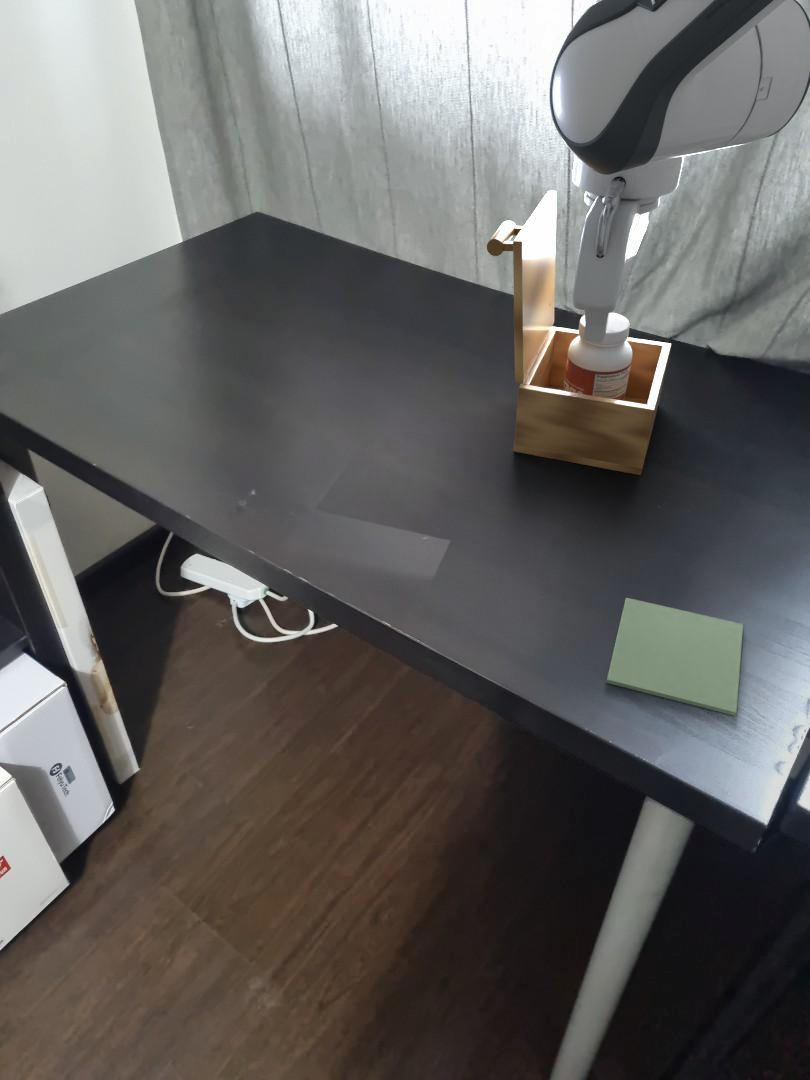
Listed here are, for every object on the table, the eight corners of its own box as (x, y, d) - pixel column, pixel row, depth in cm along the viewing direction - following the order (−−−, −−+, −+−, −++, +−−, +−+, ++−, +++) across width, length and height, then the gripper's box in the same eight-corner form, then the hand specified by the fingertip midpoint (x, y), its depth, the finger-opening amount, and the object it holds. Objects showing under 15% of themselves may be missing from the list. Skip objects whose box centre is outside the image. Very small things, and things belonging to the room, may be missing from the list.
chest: (658, 405, 89) (671, 343, 84) (640, 475, 80) (654, 410, 75) (543, 386, 93) (550, 325, 88) (513, 451, 83) (518, 387, 78)
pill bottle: (551, 408, 88) (563, 310, 80) (607, 402, 88) (623, 304, 81) (570, 440, 83) (584, 339, 76) (628, 433, 84) (648, 332, 76)
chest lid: (556, 190, 79) (511, 190, 81) (522, 241, 69) (471, 240, 71) (554, 322, 87) (513, 319, 89) (523, 383, 78) (478, 380, 79)
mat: (742, 627, 64) (743, 624, 64) (735, 716, 58) (736, 712, 58) (625, 600, 67) (625, 597, 66) (606, 682, 60) (606, 679, 60)
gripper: (649, 206, 61) (619, 373, 70) (679, 133, 75) (651, 279, 84) (565, 197, 62) (546, 361, 71) (609, 127, 77) (589, 271, 86)
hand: (603, 316), depth 78 cm, fingers open, 8 cm apart
